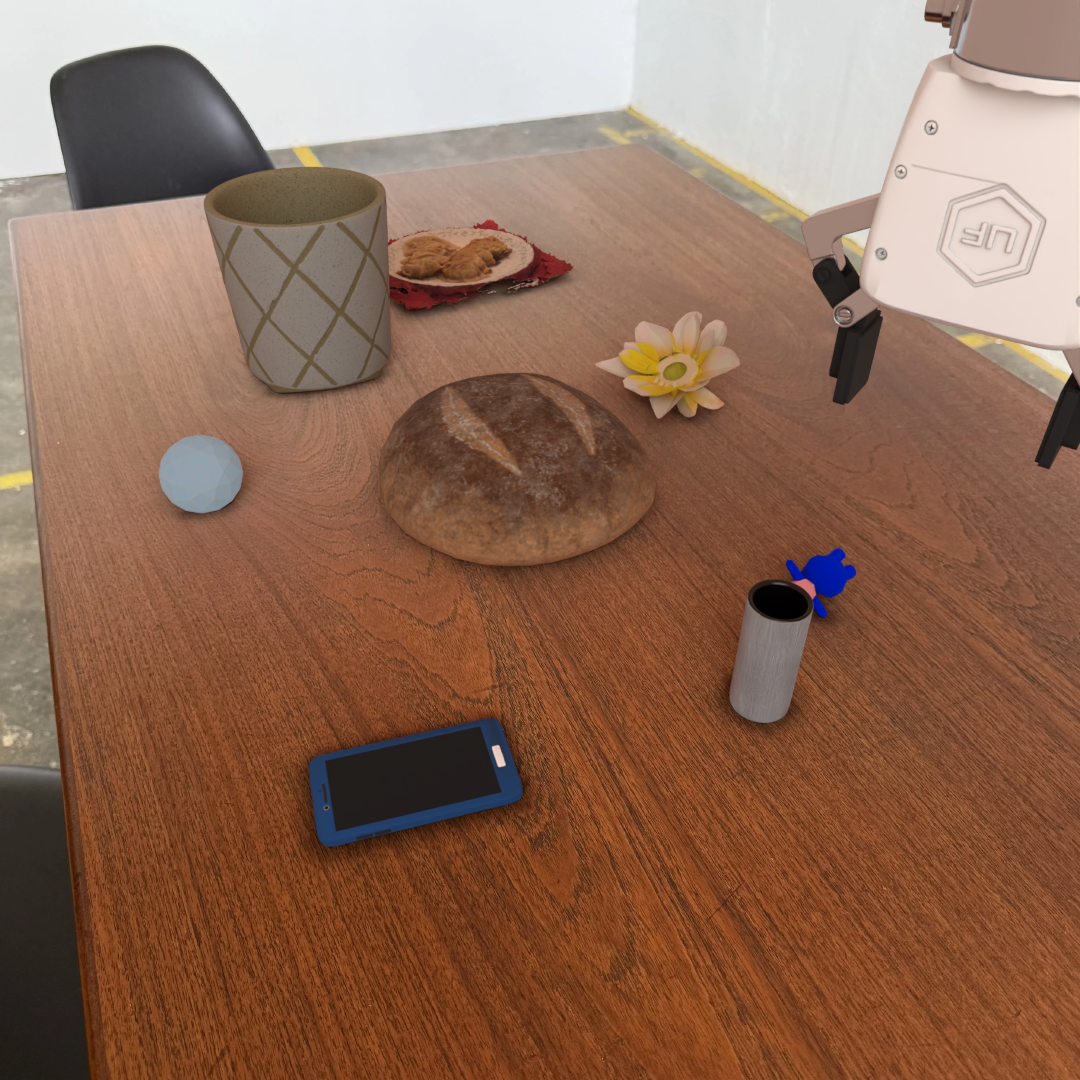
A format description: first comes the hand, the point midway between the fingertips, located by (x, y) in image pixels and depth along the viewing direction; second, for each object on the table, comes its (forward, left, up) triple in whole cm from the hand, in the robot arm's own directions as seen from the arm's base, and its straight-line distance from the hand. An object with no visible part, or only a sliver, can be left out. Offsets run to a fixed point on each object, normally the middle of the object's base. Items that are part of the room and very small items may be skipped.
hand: (944, 422), depth 47 cm
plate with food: (+79, -56, -31) cm, 102 cm away
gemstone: (+63, +1, -31) cm, 70 cm away
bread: (+39, -17, -31) cm, 52 cm away
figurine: (+9, -18, -31) cm, 37 cm away
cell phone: (+24, +15, -30) cm, 41 cm away
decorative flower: (+37, -42, -31) cm, 64 cm away
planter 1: (+74, -25, -31) cm, 84 cm away
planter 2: (+8, -6, -31) cm, 32 cm away
